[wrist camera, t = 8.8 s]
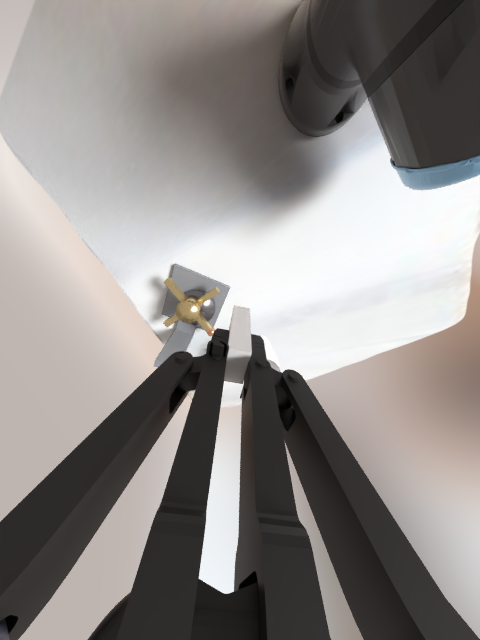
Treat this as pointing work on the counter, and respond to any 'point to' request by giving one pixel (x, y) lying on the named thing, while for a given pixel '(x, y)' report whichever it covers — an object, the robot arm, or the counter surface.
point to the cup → (270, 354)
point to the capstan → (193, 306)
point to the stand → (186, 283)
